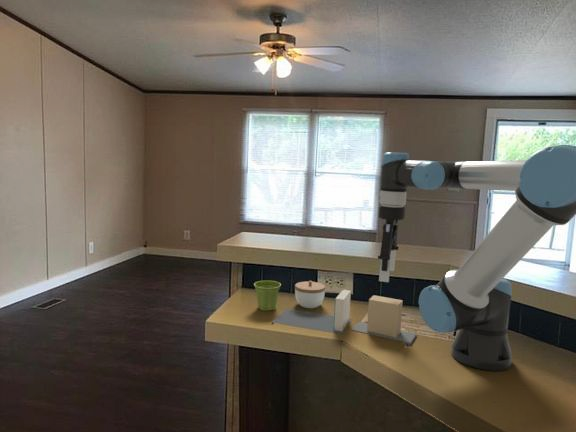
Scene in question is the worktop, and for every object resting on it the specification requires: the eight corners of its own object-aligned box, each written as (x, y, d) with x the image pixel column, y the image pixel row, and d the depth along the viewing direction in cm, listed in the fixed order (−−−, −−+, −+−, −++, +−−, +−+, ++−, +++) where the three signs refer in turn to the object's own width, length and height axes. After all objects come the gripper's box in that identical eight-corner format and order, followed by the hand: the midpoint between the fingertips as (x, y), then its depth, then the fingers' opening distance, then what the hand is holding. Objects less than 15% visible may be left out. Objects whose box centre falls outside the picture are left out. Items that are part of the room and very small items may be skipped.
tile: (349, 320, 145) (350, 290, 144) (342, 331, 136) (344, 299, 135) (340, 319, 146) (342, 289, 145) (333, 330, 137) (334, 298, 136)
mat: (352, 320, 147) (352, 318, 147) (343, 336, 134) (343, 334, 134) (286, 310, 155) (286, 308, 155) (271, 324, 142) (271, 322, 142)
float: (416, 336, 136) (418, 301, 135) (410, 345, 129) (413, 309, 128) (359, 324, 145) (361, 291, 143) (351, 332, 138) (353, 298, 136)
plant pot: (249, 310, 153) (249, 286, 152) (258, 302, 162) (259, 279, 161) (275, 314, 150) (276, 289, 149) (283, 305, 159) (284, 282, 158)
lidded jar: (325, 312, 154) (326, 286, 153) (294, 311, 154) (295, 284, 153) (323, 302, 165) (324, 277, 163) (294, 301, 165) (295, 276, 164)
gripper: (384, 200, 145) (380, 264, 148) (372, 208, 121) (367, 284, 124) (408, 202, 142) (403, 267, 145) (400, 211, 119) (395, 288, 122)
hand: (387, 275), depth 135 cm, fingers open, 13 cm apart
